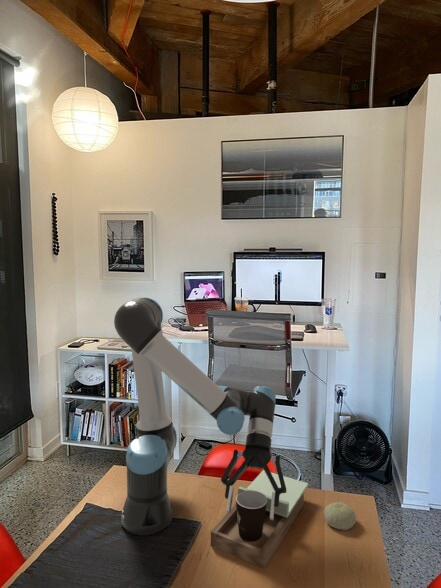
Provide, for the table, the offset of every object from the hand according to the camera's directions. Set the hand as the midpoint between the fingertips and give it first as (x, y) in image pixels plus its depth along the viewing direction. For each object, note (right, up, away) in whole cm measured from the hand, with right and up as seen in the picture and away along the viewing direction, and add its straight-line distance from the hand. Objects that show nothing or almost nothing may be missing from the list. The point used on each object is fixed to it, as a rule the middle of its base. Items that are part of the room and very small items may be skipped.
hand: (249, 515), depth 113 cm
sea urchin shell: (+27, -8, +11) cm, 30 cm away
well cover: (+9, -2, +17) cm, 20 cm away
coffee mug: (+1, -6, +3) cm, 7 cm away
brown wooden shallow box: (+4, -7, +9) cm, 12 cm away
